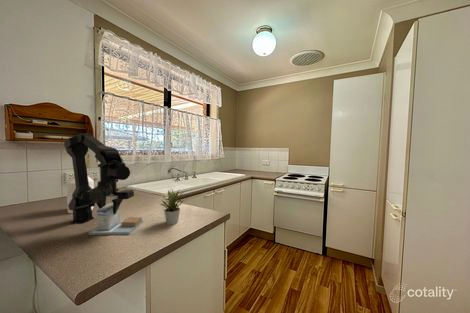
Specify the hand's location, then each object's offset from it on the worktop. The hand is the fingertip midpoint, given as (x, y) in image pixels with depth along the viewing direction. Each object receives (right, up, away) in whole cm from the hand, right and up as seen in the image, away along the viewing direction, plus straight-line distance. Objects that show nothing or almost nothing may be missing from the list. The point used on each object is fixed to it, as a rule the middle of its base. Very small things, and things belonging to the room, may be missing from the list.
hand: (109, 214), depth 80 cm
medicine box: (0, -5, +1) cm, 5 cm away
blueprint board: (+3, -7, +1) cm, 7 cm away
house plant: (+26, -7, +8) cm, 28 cm away
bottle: (-33, -6, +25) cm, 42 cm away
